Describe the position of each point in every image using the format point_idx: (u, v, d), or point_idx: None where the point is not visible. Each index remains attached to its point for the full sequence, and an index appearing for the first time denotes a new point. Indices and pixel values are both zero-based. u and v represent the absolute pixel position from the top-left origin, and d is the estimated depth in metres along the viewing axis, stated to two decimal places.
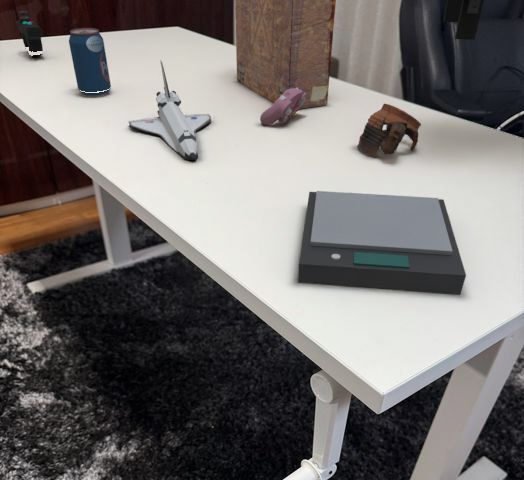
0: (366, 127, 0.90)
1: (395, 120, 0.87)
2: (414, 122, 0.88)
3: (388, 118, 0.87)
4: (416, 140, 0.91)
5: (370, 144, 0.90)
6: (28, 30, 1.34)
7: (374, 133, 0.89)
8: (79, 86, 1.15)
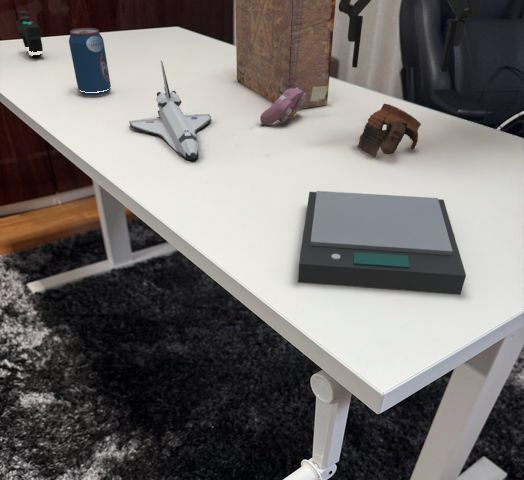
0: (366, 127, 0.90)
1: (395, 120, 0.87)
2: (414, 122, 0.88)
3: (388, 118, 0.87)
4: (416, 140, 0.91)
5: (370, 144, 0.90)
6: (28, 30, 1.34)
7: (374, 133, 0.89)
8: (79, 86, 1.15)
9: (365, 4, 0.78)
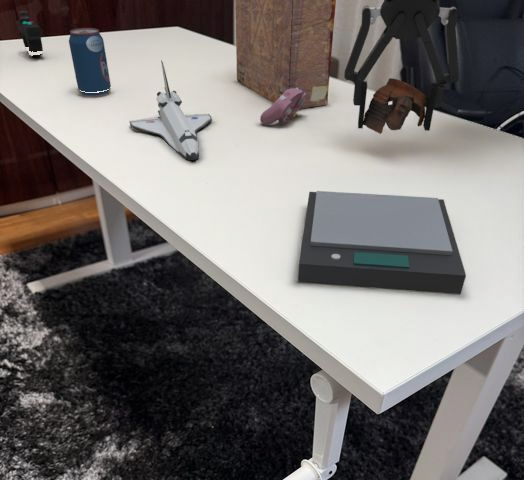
0: (371, 103, 0.88)
1: (401, 94, 0.85)
2: (421, 96, 0.85)
3: (394, 93, 0.85)
4: (423, 116, 0.88)
5: (376, 120, 0.87)
6: (28, 30, 1.34)
7: (379, 109, 0.86)
8: (79, 86, 1.15)
9: (368, 71, 0.84)
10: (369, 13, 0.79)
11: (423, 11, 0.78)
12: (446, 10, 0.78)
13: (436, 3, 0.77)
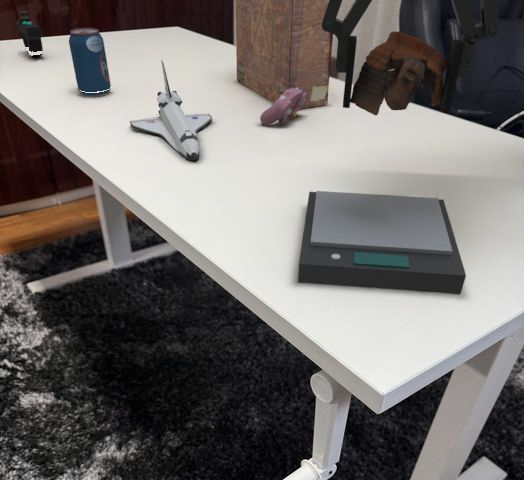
0: (363, 69, 0.58)
1: (409, 55, 0.55)
2: (438, 59, 0.56)
3: (397, 52, 0.55)
4: (440, 90, 0.59)
5: (369, 94, 0.58)
6: (28, 30, 1.34)
7: (375, 77, 0.57)
8: (79, 86, 1.15)
9: (358, 18, 0.54)
10: None
11: None
12: None
13: None
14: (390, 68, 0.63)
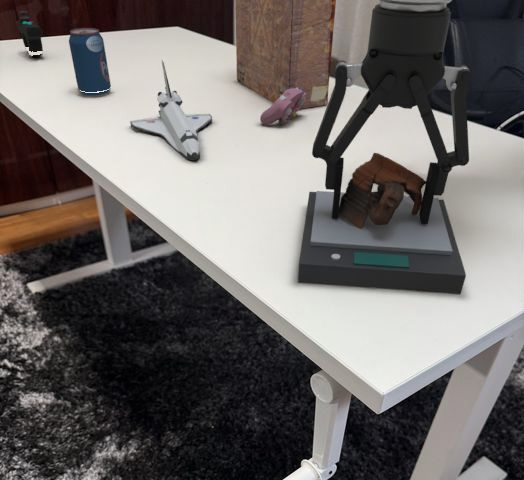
0: (349, 186, 0.65)
1: (390, 178, 0.62)
2: (417, 181, 0.63)
3: (379, 176, 0.62)
4: (419, 203, 0.66)
5: (355, 210, 0.64)
6: (28, 30, 1.34)
7: (360, 196, 0.63)
8: (79, 86, 1.15)
9: (344, 148, 0.61)
10: (345, 72, 0.56)
11: (421, 72, 0.55)
12: (454, 71, 0.55)
13: (440, 61, 0.54)
14: None
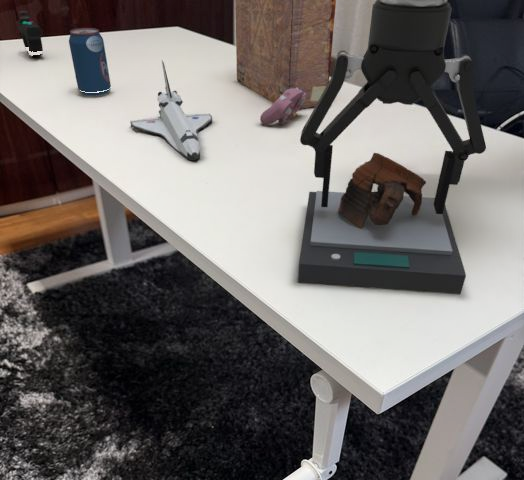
0: (349, 186, 0.65)
1: (390, 179, 0.62)
2: (417, 181, 0.63)
3: (380, 176, 0.62)
4: (419, 203, 0.66)
5: (355, 210, 0.64)
6: (28, 30, 1.34)
7: (360, 196, 0.63)
8: (79, 86, 1.15)
9: (334, 137, 0.60)
10: (346, 63, 0.55)
11: (421, 70, 0.55)
12: (455, 62, 0.55)
13: (440, 57, 0.54)
14: None
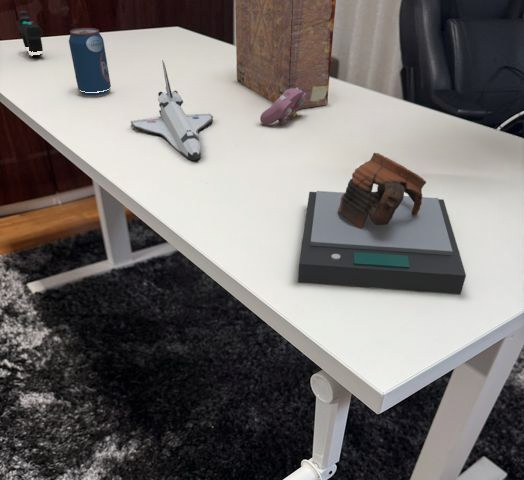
0: (349, 186, 0.65)
1: (390, 179, 0.62)
2: (417, 181, 0.63)
3: (379, 176, 0.62)
4: (419, 203, 0.66)
5: (355, 210, 0.64)
6: (28, 30, 1.34)
7: (360, 196, 0.63)
8: (79, 86, 1.15)
9: None
10: None
11: None
12: None
13: None
14: None
